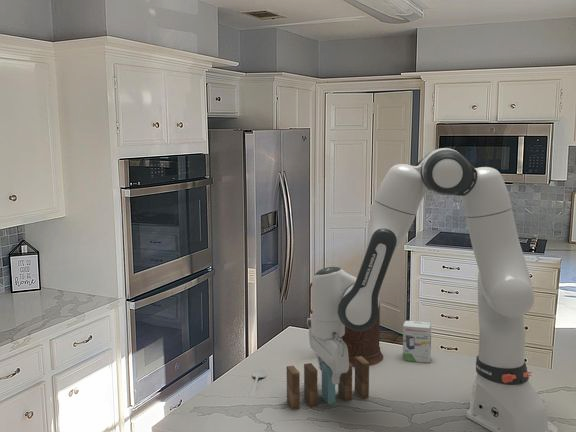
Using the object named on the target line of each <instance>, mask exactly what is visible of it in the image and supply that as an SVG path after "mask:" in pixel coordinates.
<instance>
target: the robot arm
mask: <svg viewBox="0 0 576 432" xmlns="http://www.w3.org/2000/svg"><path fill="white" fill-rule="evenodd" d="M431 192H434V193H436V194H440V195H444V196H459V198H460V199H461V202H462V204H463V208H464V215H465V219H466V224H467V230H468V232H469V238H470V243H471V247H472V250H473V253H474V254H473V255H474V258H475V262H476V264H477V265H476V266H477V269H478V274H477V309H478V310H477V311H478V351H477V352H478V355H477V356H476V360H475V371H476V377H475V380H474V381H473V384H472V388H471V397H470V404H469V407H468V408H469V409H468V410H466V415H465V416H466V418H467V419H470V420H471V421H472V422H475V424H478V425H480V426H481V427H482V428H484V429H487V430H489V431H490V432H559V429H558V428H557V426H555V425H554V424H553V423H552V422H551V421H550V420H549V415H548V414H549V413H548V408H547V405H546V404H545V399H544V397H543V396H541V395H539V393H538V392H537V391H536V390H535V388H534V386H533V385H532V383H531V382H530V379H529V378H530V377H532V376H533V375H531V374H532V373H533V372H532V371H528V367H527V363H526V361H525V354H526V353H525V352H526V328H525V327H526V326H525V318H524V315H526V314H527V313H528V312H529V311H530V310H531V309H532V308H533V305H534V303H535V292H534V287H533V284H532V281H531V277H530V273H529V269H528V265H527V262H526V259H525V255H524V252H523V249H522V247H521V246H522V245H521V244H520V239H519V234H518V229H517V225H516V222H515V221H516V220H515V215H514V212H513V206H512V202H511V198H510V194H509V191H508V188H507V186H506V183H505V180H504V178H503V176H502V173H501V172H500V171H499V170H498V169H496V168H494V167H489V166H481V167H474V166H473V165H472V164H471V162H469V160H468V159H467V158H466V157H465V156H464V155H463V154H462V153H460V152H458V151H457V150H455V149H453V148H449V147H443V148H442V147H440V148H437V149H434V150H433V151H431V152H428V153H427V154H426V155H425V156H424V157H423V158H422V159H421V160H419V161H418V162H417V163H416V164H415V165H411V164H406V163H397V164H395V165H393V166H392V167H390V168H389V170H388V171H387V172H386V175H385V176H384V178H383V180H382V182H381V184H380V186H379V187H378V190H377V192H376V195H375V197H374V200H373V203H372V207H371V210H370V215H369V220H368V228H367V229H368V230H367V241H366V249H365V252H364V253H365V254H364V257H363V260H362V263H361V265H360V268H359V271H358V273H357V274H358V275H357V276H355V275H352V274H350V273H348V272H346V271H345V270H344V269H343V268H341V267H338V266H330V267H324V268H322V269H319V270H318V271H316V272H315V274H314V275H313V276H312V277H313V278H312V282H311V283H312V286H311V305H312V311H313V313H312V314H311V317H308V318H307V320H306V325H307V327H308V338H309V339H308V341H309V346H310V349H311V350H312V351H314V353H315V355H316V359H317V363H318V369H319V370H320V372H322V362H323V361H324V362H325V363H326V364H327V365H328V366H329V367H330V368H331V369H332V372H333V376H331V382H332V383H333V384H334V385H335V386H336V385H338V384H339V378H340V376H341V373H347V372H348V370H349V357H348V348H347V345H346V343H345V342H343V339H342V338H341V337H342V336H343V335H344V334H345V326H346V327H347V328H349V329H351V330H354V331H366V330H368V329H370V328H372V327H373V326H374V325H375V324H376V322H377V320H378V316H379V304H380V305H381V293H380V291H381V288H382V285H383V283H384V280H385V277H386V275H387V272H388V268H389V266H390V263H391V261H392V258H393V257H394V256H395V254H396V252H397V251H398V249H399V247H400V246H401V243H403V241H404V239H405V237H406V236H407V234H408V233H409V231H410V229H411V227H412V224H413V223H414V220H415V219H416V215H417V213H418V210H419V207H420V205H421V202H422V200H423V199H424V197H425V196H427V194H429V193H431Z"/></svg>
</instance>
